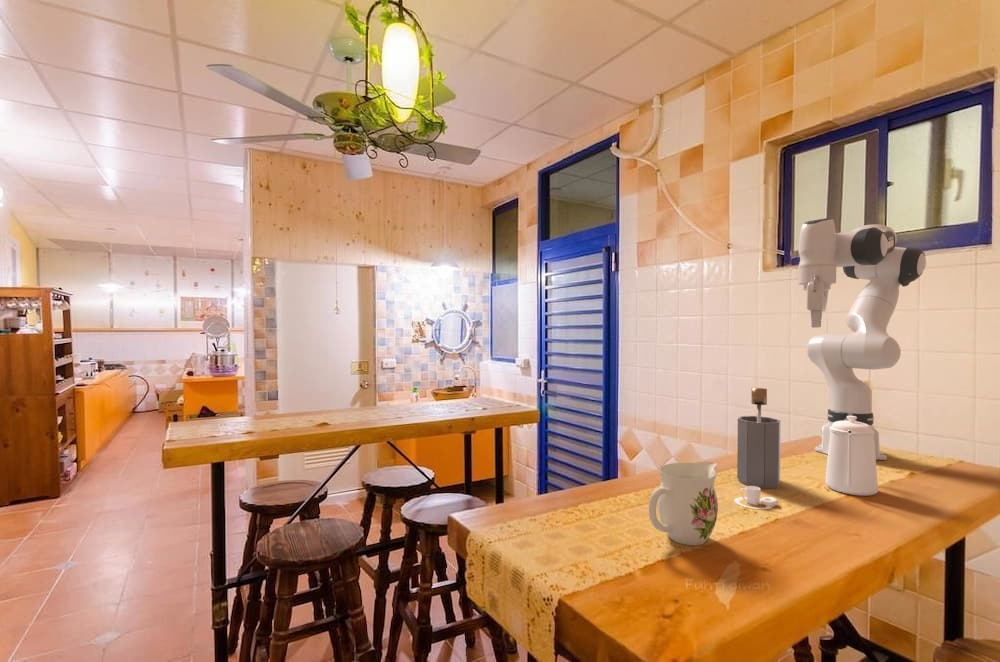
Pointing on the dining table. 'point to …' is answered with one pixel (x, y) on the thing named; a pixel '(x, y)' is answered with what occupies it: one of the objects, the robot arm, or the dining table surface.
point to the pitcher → (686, 502)
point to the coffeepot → (852, 458)
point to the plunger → (759, 400)
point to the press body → (758, 452)
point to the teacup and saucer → (756, 498)
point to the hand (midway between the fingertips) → (816, 327)
